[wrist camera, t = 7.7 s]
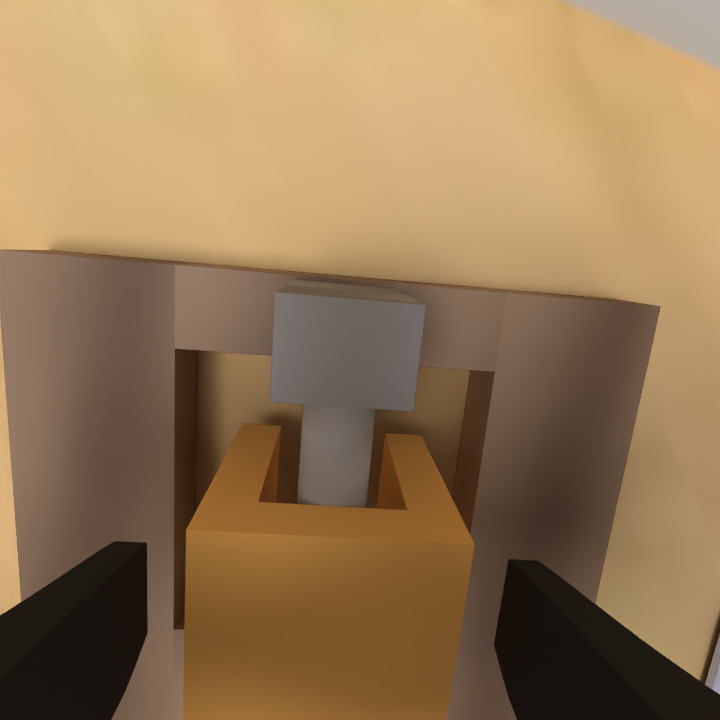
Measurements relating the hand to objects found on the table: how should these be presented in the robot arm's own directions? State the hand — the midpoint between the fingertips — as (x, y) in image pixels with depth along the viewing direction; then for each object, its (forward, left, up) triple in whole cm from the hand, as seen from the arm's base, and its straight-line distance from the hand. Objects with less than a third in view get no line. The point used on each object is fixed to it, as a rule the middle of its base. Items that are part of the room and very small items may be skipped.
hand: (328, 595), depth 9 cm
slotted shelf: (0, +6, -5) cm, 8 cm away
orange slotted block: (0, 0, -4) cm, 4 cm away
